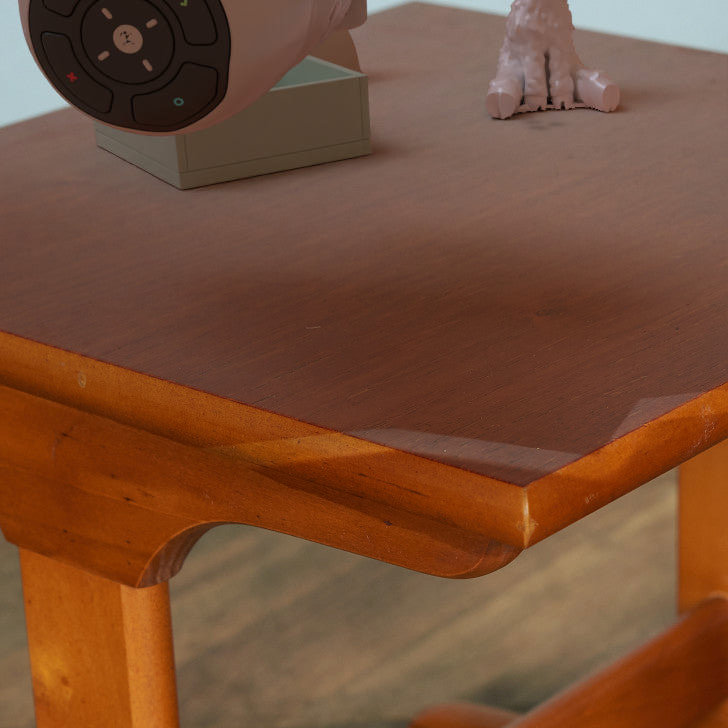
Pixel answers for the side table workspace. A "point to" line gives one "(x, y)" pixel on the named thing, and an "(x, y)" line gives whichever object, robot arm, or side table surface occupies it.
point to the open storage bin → (261, 131)
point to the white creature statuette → (545, 64)
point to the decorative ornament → (338, 51)
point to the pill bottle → (354, 16)
